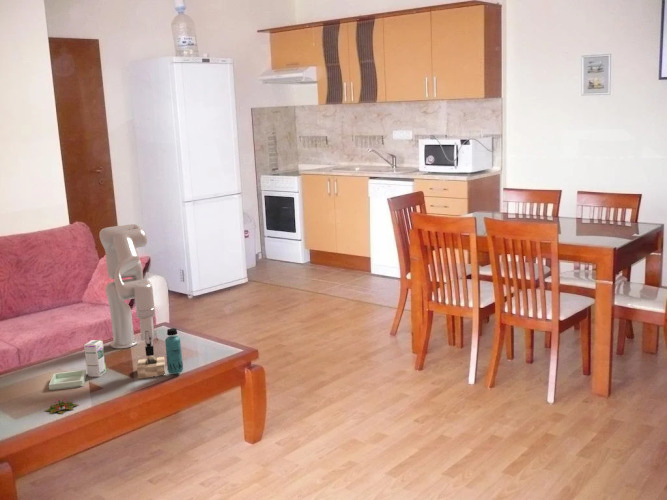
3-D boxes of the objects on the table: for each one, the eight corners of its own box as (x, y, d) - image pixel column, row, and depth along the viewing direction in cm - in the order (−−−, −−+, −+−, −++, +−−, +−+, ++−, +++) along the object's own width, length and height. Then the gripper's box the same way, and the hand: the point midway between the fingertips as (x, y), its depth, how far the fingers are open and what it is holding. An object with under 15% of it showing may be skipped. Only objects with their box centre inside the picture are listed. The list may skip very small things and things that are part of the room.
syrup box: (100, 377, 295) (96, 344, 292) (87, 376, 296) (83, 344, 293) (107, 371, 301) (103, 340, 298) (94, 371, 302) (90, 339, 299)
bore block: (139, 369, 302) (138, 359, 301) (165, 366, 304) (164, 356, 303) (138, 378, 291) (137, 368, 290) (165, 375, 293) (164, 365, 293)
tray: (54, 379, 295) (53, 373, 295) (86, 375, 298) (85, 369, 297) (49, 390, 283) (48, 384, 282) (82, 386, 286) (82, 380, 285)
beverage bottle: (164, 375, 294) (160, 329, 290) (178, 370, 299) (173, 325, 295) (173, 378, 289) (169, 332, 285) (187, 373, 294) (182, 328, 290)
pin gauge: (147, 364, 298) (144, 333, 295) (155, 363, 299) (151, 332, 296) (147, 366, 295) (143, 335, 292) (155, 365, 296) (151, 334, 293)
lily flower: (38, 413, 262) (36, 402, 261) (62, 401, 273) (60, 390, 272) (61, 418, 257) (60, 406, 256) (85, 405, 268) (84, 394, 267)
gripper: (137, 308, 299) (141, 348, 303) (135, 318, 284) (140, 361, 287) (155, 306, 301) (159, 346, 304) (154, 316, 285) (158, 359, 289)
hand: (150, 353), depth 296 cm, fingers closed on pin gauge, 3 cm apart
